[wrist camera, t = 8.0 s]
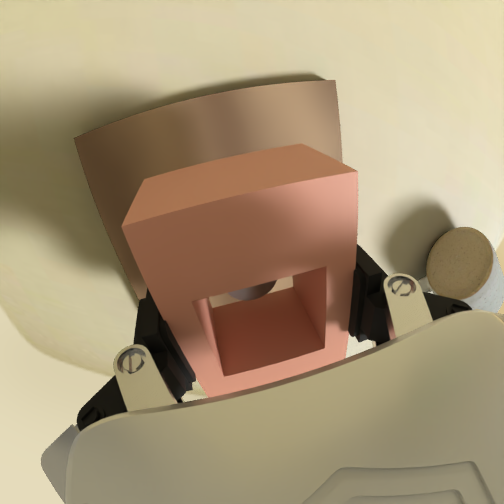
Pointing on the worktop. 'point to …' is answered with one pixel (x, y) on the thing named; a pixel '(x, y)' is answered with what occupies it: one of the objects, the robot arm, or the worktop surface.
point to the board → (203, 150)
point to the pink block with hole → (251, 261)
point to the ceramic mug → (465, 270)
